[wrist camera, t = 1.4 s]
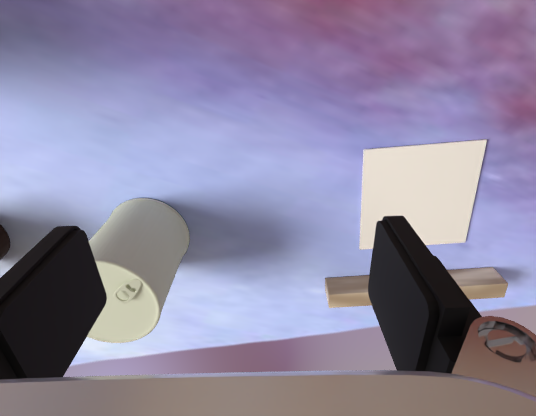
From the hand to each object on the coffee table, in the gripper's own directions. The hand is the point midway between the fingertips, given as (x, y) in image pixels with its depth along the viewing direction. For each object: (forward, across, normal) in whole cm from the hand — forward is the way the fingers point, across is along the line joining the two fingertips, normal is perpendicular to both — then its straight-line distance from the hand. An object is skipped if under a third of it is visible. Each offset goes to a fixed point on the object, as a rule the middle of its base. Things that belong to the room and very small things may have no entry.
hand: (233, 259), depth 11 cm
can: (+24, +13, +14) cm, 30 cm away
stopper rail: (+24, -18, +21) cm, 36 cm away
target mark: (+24, -17, +10) cm, 31 cm away
